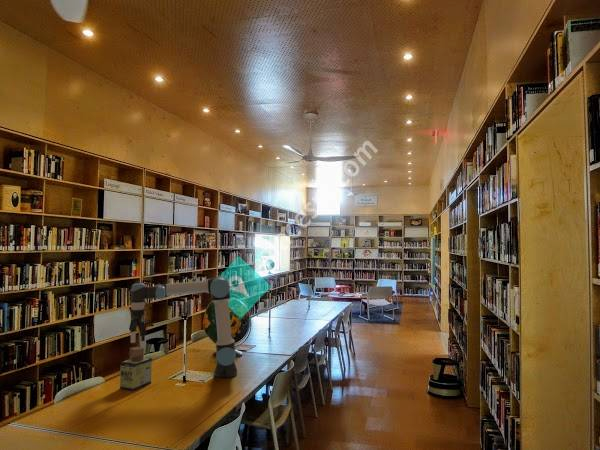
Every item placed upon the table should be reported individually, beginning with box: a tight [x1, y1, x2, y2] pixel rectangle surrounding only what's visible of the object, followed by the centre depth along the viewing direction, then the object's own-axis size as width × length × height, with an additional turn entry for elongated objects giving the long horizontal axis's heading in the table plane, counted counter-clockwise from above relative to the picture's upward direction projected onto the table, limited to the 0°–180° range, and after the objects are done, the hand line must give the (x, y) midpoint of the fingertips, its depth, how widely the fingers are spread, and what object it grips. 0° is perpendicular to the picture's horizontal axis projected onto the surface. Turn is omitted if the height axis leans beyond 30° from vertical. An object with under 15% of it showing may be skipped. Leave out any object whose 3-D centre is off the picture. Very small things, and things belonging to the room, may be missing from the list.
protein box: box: [119, 356, 153, 392], centre depth 248 cm, size 10×16×16 cm
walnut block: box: [129, 346, 145, 362], centre depth 248 cm, size 6×6×7 cm
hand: (137, 344), depth 249 cm, fingers open, 13 cm apart
